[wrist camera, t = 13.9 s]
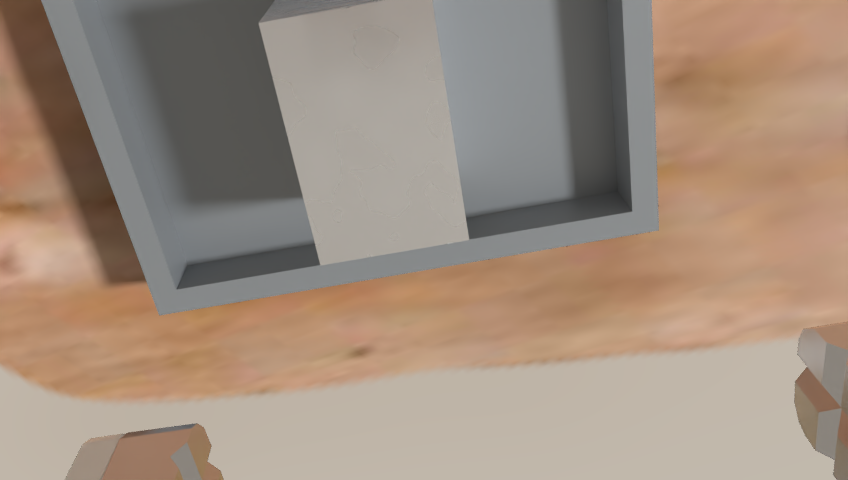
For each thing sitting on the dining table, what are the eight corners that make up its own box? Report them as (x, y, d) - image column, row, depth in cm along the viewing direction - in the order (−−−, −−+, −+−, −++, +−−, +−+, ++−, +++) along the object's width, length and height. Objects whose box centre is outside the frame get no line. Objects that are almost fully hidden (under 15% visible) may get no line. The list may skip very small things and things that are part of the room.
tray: (56, -63, 27) (20, -55, 25) (619, -167, 27) (646, -170, 24) (176, 278, 34) (159, 315, 31) (635, 200, 33) (658, 230, 30)
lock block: (282, -10, 28) (258, 23, 22) (420, -35, 27) (430, -9, 22) (330, 195, 31) (320, 265, 26) (453, 173, 31) (469, 240, 26)
